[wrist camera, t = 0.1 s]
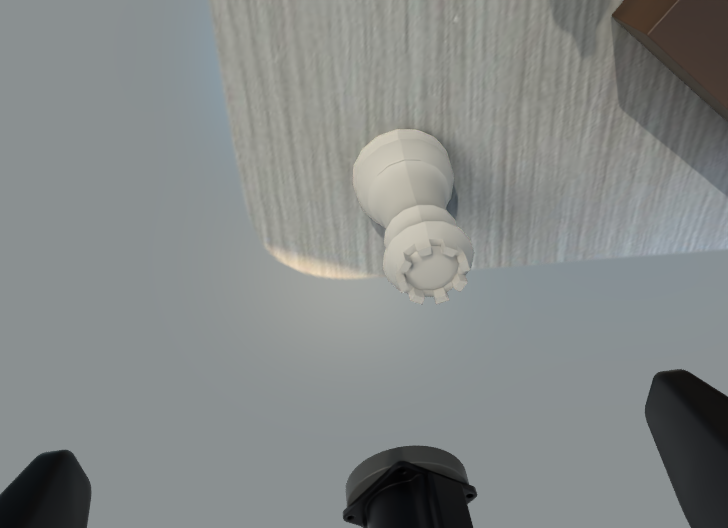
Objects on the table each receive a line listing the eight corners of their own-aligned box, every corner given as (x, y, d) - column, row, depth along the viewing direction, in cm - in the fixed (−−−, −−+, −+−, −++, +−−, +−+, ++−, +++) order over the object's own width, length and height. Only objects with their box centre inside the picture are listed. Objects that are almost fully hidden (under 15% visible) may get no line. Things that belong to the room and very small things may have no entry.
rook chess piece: (343, 133, 25) (359, 233, 19) (446, 116, 25) (497, 210, 19) (358, 220, 28) (377, 334, 21) (451, 205, 28) (498, 314, 21)
